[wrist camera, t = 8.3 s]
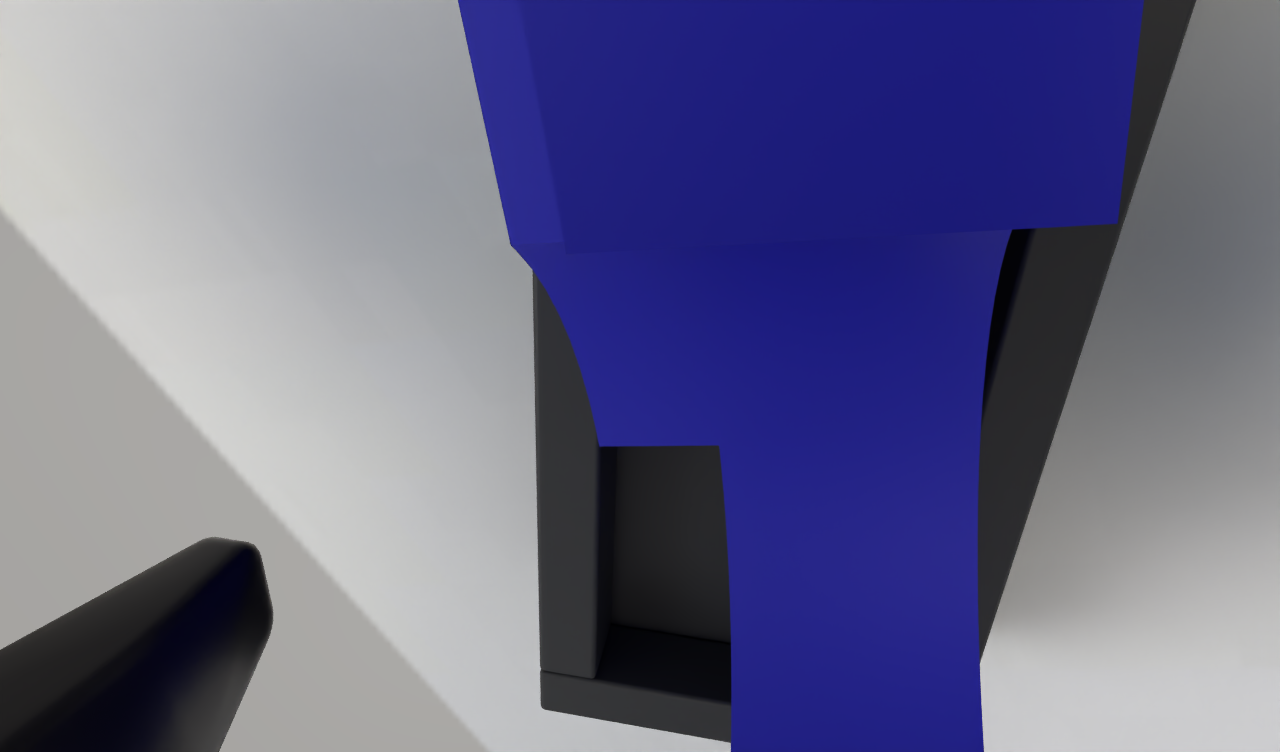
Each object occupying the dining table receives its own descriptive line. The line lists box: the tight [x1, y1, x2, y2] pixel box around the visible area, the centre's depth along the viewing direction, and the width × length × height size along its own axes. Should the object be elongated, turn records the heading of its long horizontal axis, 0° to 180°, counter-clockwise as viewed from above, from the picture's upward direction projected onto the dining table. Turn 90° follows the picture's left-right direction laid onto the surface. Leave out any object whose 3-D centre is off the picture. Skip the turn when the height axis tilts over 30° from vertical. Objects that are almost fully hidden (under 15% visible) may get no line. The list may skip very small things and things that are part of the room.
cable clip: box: [458, 0, 1144, 752], centre depth 10 cm, size 12×4×6 cm, turn 8°
